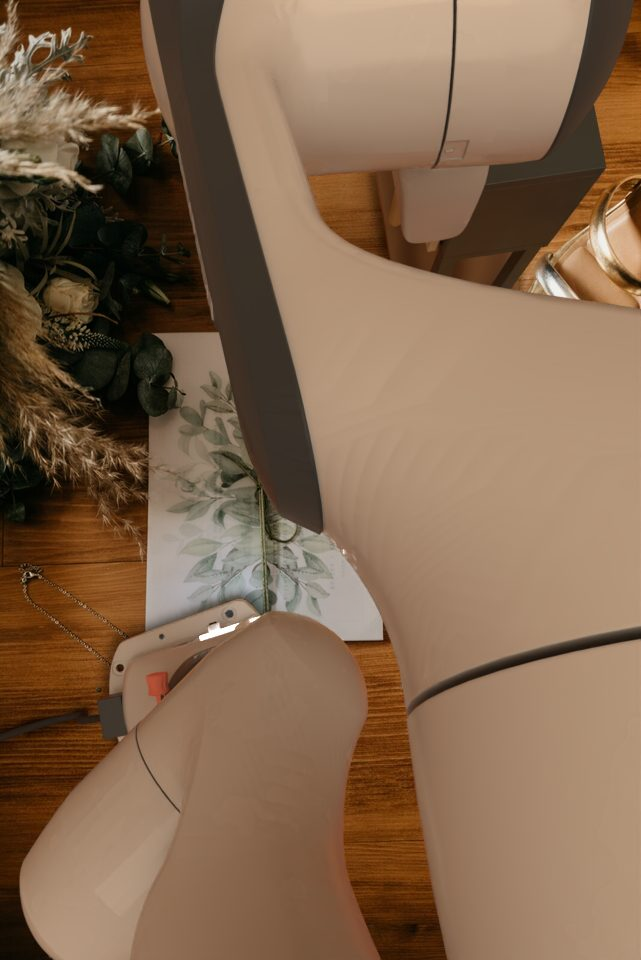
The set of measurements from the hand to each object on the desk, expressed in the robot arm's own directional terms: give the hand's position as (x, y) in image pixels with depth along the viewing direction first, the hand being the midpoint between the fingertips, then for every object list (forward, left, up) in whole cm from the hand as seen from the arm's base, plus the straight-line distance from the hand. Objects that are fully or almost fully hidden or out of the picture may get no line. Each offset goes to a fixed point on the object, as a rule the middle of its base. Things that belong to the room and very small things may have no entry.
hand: (398, 141), depth 51 cm
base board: (+10, +4, -32) cm, 34 cm away
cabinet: (+10, +4, -31) cm, 33 cm away
